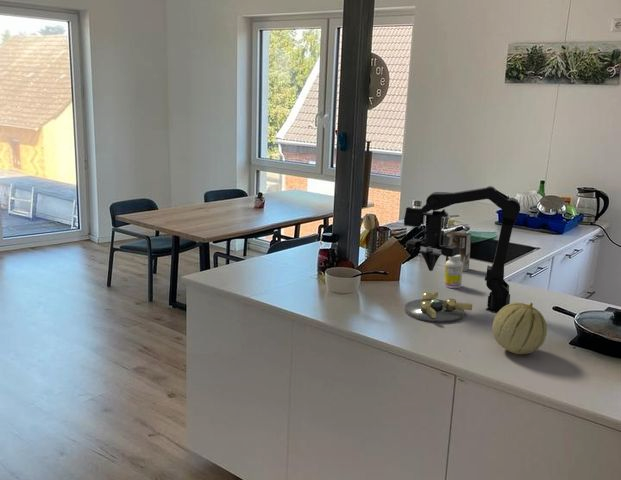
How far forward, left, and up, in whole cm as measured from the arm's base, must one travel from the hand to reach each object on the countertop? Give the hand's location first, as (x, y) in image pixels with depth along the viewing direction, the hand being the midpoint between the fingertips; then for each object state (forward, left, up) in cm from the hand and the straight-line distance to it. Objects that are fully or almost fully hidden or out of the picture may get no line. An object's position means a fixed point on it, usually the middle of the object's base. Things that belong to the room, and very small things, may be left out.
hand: (430, 270), depth 208 cm
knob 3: (-14, +4, -10) cm, 18 cm away
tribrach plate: (-7, +8, -12) cm, 16 cm away
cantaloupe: (-42, +20, -12) cm, 48 cm away
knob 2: (-9, +15, -10) cm, 20 cm away
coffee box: (+16, -49, -12) cm, 53 cm away
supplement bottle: (+4, -24, -12) cm, 27 cm away
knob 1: (-2, +3, -10) cm, 11 cm away
